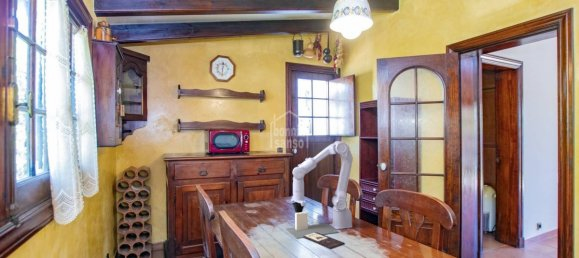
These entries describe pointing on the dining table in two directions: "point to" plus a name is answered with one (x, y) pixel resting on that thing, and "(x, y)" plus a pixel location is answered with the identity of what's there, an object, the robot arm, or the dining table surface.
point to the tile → (301, 220)
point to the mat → (312, 230)
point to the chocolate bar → (323, 240)
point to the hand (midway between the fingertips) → (298, 216)
